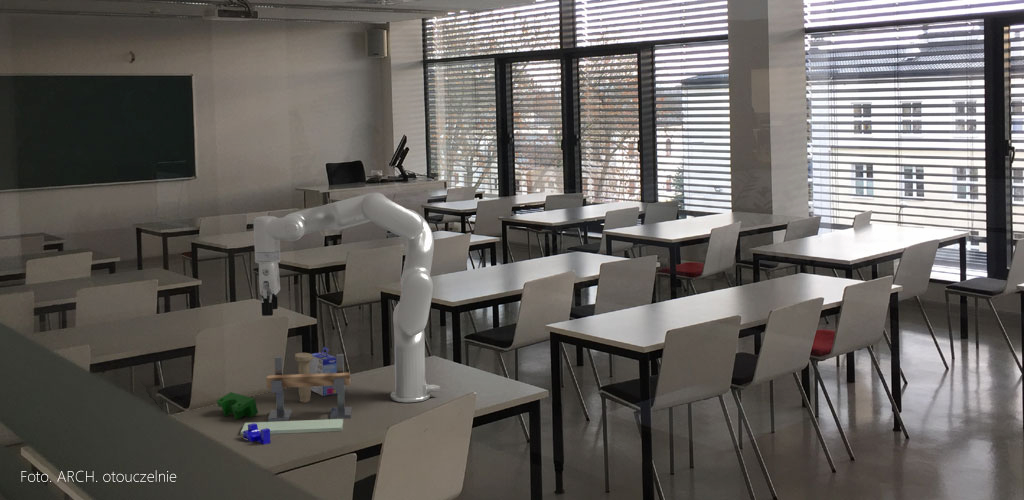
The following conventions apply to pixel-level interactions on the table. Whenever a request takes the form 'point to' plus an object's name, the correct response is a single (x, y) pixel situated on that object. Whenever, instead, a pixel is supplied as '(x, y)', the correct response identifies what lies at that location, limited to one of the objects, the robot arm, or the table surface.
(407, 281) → the robot arm
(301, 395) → the handle
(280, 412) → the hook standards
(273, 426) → the board
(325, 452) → the table surface
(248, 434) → the cable holder
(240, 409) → the clamp
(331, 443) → the table surface
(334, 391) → the ink cartridge box
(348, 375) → the rail
